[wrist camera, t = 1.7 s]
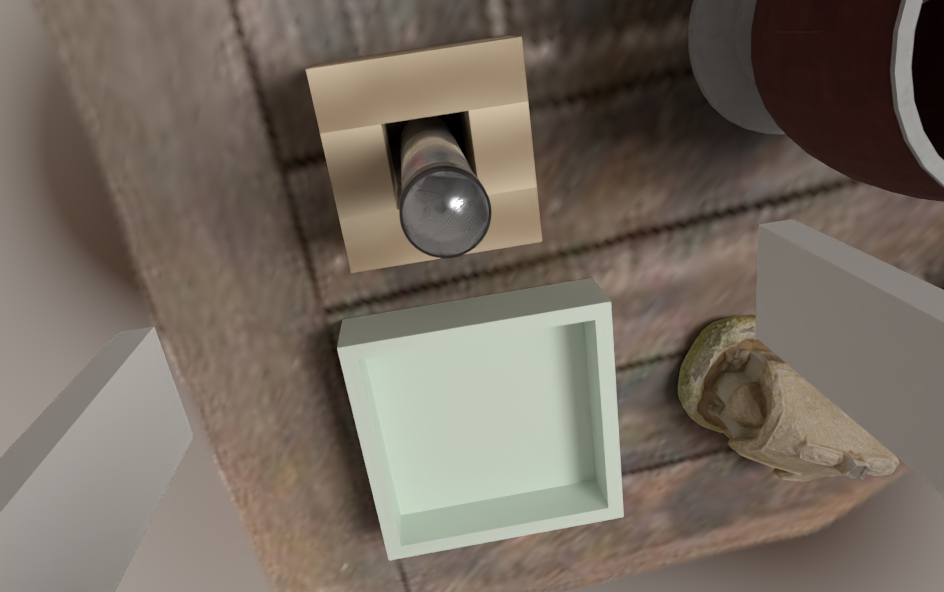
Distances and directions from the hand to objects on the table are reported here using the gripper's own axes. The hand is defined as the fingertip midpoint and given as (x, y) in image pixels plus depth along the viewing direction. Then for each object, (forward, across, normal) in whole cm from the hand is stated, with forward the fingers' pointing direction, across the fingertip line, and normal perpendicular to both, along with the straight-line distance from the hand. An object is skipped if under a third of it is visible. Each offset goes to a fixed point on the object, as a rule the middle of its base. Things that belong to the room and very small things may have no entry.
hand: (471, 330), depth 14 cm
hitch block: (+25, 0, 0) cm, 25 cm away
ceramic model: (+26, +21, -20) cm, 39 cm away
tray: (+25, +1, -18) cm, 31 cm away
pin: (+25, 0, 0) cm, 25 cm away
